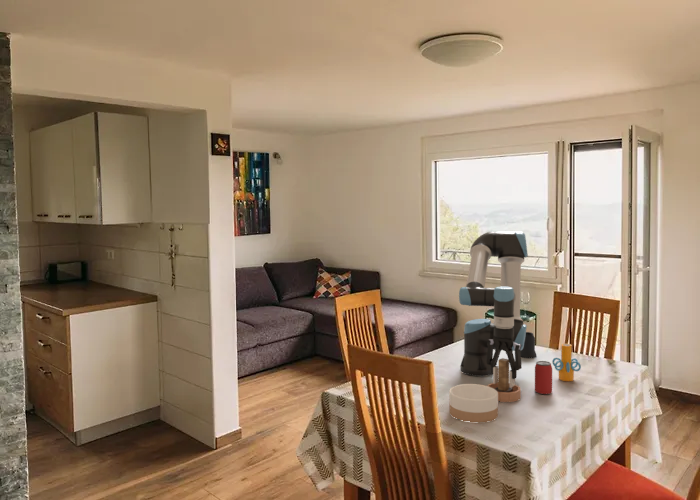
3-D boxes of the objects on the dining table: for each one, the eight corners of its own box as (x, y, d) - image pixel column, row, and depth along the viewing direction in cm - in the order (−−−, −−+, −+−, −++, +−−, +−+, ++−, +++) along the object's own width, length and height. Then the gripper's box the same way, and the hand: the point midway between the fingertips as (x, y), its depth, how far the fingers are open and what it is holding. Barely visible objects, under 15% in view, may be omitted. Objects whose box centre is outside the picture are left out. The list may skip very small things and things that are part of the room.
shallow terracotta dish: (481, 397, 217) (481, 388, 217) (496, 388, 226) (496, 380, 226) (511, 404, 209) (511, 395, 208) (526, 395, 218) (526, 386, 218)
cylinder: (582, 384, 229) (582, 349, 227) (555, 383, 231) (556, 348, 230) (576, 375, 241) (576, 341, 239) (551, 374, 243) (551, 340, 241)
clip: (494, 395, 217) (494, 388, 217) (500, 391, 221) (500, 385, 221) (506, 398, 214) (506, 391, 214) (512, 394, 218) (512, 388, 217)
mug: (536, 359, 266) (536, 336, 265) (516, 357, 270) (516, 334, 269) (537, 352, 277) (537, 330, 276) (518, 351, 281) (518, 329, 280)
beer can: (543, 396, 217) (543, 366, 216) (531, 391, 222) (531, 362, 221) (555, 393, 220) (556, 363, 219) (542, 388, 226) (543, 359, 224)
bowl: (467, 426, 190) (467, 403, 189) (440, 410, 205) (440, 388, 205) (508, 418, 196) (508, 395, 196) (478, 402, 212) (478, 381, 211)
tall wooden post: (498, 394, 217) (498, 359, 216) (501, 392, 220) (502, 358, 219) (505, 396, 215) (505, 361, 214) (508, 394, 218) (509, 359, 217)
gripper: (476, 325, 219) (477, 382, 221) (522, 332, 206) (522, 392, 208) (486, 321, 224) (486, 377, 226) (531, 328, 211) (531, 387, 213)
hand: (503, 384), depth 217 cm, fingers open, 6 cm apart
